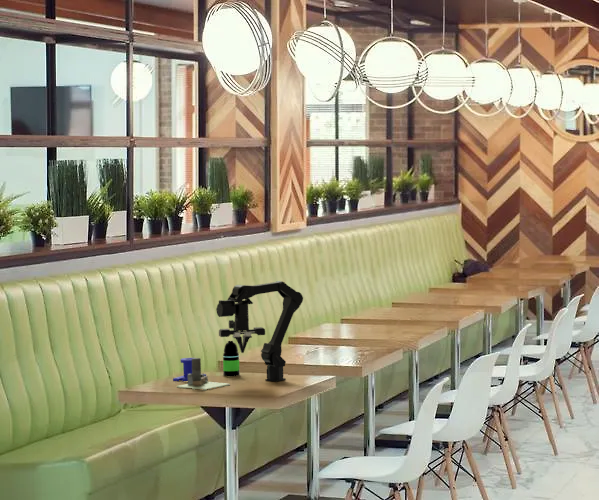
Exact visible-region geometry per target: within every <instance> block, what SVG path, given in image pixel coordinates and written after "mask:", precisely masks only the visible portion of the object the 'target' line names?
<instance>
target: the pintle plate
mask: <svg viewBox="0 0 599 500" xmlns="http://www.w3.org/2000/svg"><path fill="white" fill-rule="evenodd" d="M230 385H231V384H230V383H225V382H216V381H214V382H213V381H208V382H205V383H203V384H202V385H200V386H193V385H188V383H185V384H179V385H176V388H179V389H186V388H192V389H191V390H195V389H203V390H202V391H207V390H206V389H210V390H212V389H211V388H214V389H217V388H216V387H219V388H223V386H224V387H228V386H230Z"/></svg>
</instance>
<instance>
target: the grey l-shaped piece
mask: <svg viewBox="0 0 599 500" xmlns="http://www.w3.org/2000/svg"><path fill="white" fill-rule="evenodd" d="M191 358H192V381H193V386H200V385H202V384H203V383H205V382H209V381H208V380H209V379H208V378H209V377H208V376H207V375H206V376H203V377H201V374H202V366H201V365H202V363H201V362H202V361H201V358H202V357H191Z"/></svg>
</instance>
